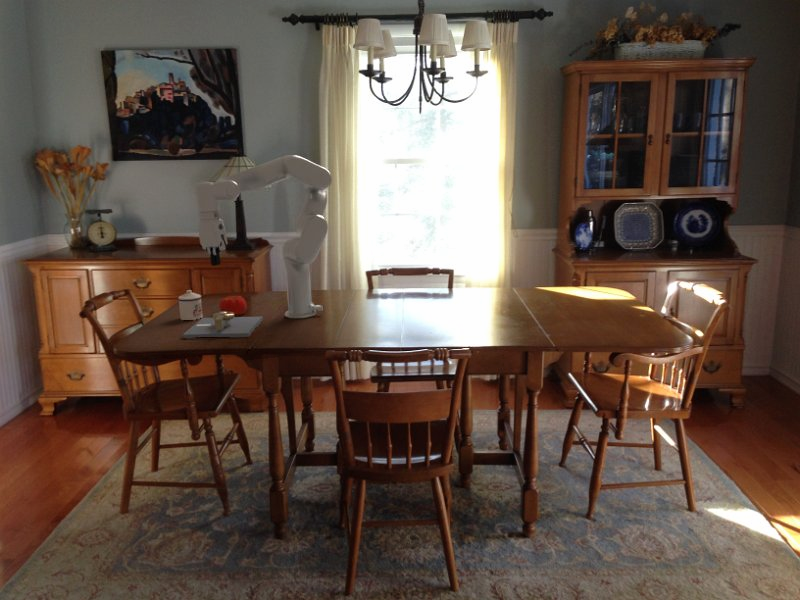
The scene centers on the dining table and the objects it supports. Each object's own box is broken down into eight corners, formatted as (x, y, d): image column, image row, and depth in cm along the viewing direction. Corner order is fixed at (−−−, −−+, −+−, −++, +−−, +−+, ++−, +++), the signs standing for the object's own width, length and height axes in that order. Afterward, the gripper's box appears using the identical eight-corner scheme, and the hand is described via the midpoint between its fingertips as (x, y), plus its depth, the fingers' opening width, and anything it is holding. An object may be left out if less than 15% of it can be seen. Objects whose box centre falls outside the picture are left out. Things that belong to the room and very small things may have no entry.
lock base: (262, 320, 269) (261, 310, 268) (248, 337, 245) (247, 326, 244) (202, 321, 269) (201, 311, 268) (183, 338, 246) (182, 327, 245)
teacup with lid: (197, 321, 270) (194, 292, 267) (176, 321, 271) (173, 292, 268) (209, 313, 281) (207, 286, 279) (189, 313, 283) (186, 286, 280)
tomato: (227, 311, 285) (225, 294, 283) (251, 311, 283) (250, 294, 281) (216, 317, 275) (214, 300, 273) (241, 318, 273) (239, 300, 271)
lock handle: (215, 320, 260) (214, 310, 259) (236, 319, 261) (235, 309, 260) (207, 330, 246) (206, 319, 245) (229, 329, 247) (228, 318, 246)
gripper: (231, 214, 248) (237, 263, 253) (202, 214, 255) (208, 262, 260) (217, 217, 242) (223, 268, 246) (187, 217, 249) (194, 266, 254)
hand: (216, 264), depth 253 cm, fingers closed
